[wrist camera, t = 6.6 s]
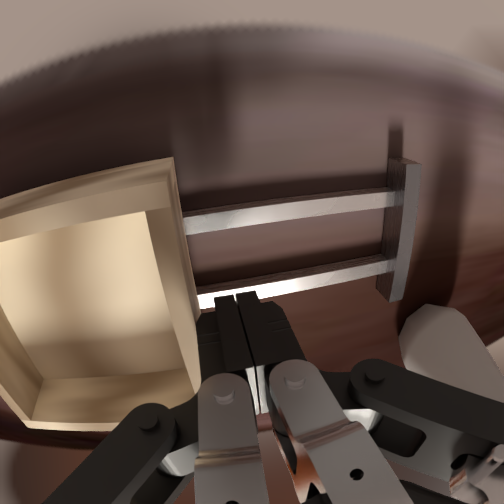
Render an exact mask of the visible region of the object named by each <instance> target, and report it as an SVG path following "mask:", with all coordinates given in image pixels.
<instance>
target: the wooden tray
mask: <svg viewBox="0 0 504 504" xmlns="http://www.w3.org/2000/svg"><path fill="white" fill-rule="evenodd" d="M200 314H201V311H200V306H199V302H198V297H197V292H196V287H195V282H194V277H193V272H192V267H191V262H190V256H189V251H188V245H187V240H186V234H185V229H184V223H183V217H182V211H181V205H180V199H179V192H178V186H177V179H176V173H175V166H174V159H173V157H169V158H163V159H157V160H152V161H146V162H141V163H136V164H131V165H126V166H121V167H116V168H112V169H107V170H103V171H98V172H94V173H90V174H86V175H81V176H77V177H73V178H70V179H66V180H62V181H58V182H54V183H51V184H47V185H44V186H40V187H37V188H33V189H30V190H27V191H23V192H20V193H17V194H14V195H11V196H8V197H5V198H2V199H0V395H1V397H2V398H3V399H4V400H5V401H6V403H7V404H8V405H9V406H10V408H11V409H12V410H13V411H14V412H15V413H16V415H17V416H18V417H19V418H20V419H21V420H22V421H23V422H24V424H25V425H26V426H27V427H28V428H37V429H50V430H71V431H112V430H113V429H114V428H115V427H116V426H117V425H118V424H119V423H120V422H121V421H122V420H123V419H124V418H125V417H126V416H127V415H128V414H129V412H130V411H132V410H133V409H134V408H135V407H137V406H139V405H142V404H145V403H159V404H162V405H164V406H166V407H168V408H169V409H171V408H173V407H175V406H178V405H180V404H183V403H185V402H187V401H188V400H190V399H191V398H192V397H193V396H194V395H195V394H196V393H197V392H198V390H199V388H200V385H201V374H200V364H199V355H198V344H197V334H196V322H197V320H198V318H199V316H200Z"/></svg>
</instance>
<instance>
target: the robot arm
mask: <svg viewBox="0 0 504 504" xmlns="http://www.w3.org/2000/svg"><path fill="white" fill-rule="evenodd" d="M213 299H214V305H215V310H216V311H214V312H208V313H202V314H200V316H199V318H198V320H197V322H196V334H197V344H198V355H199V364H200V374H201V385H200V388H199V390H198V392H197V393H196V394H195V395H194V396H193V397H192V398H191V399H190V400H188V401H187V402H185V403H183V404H180V405H178V406H175V407H173V408H171V409H169V408H168V407H166V406H164V405H162V404H159V403H145V404H142V405H139V406H137V407H135V408H134V409H133V410H132V411H130V412H129V414H128V415H127V416H126V417H125V418H124V419H123V420H122V421H121V422H120V423H119V424H118V425H117V426H116V427H115V428H114V429H113V430H112V432H111V433H110V434H109V435H108V436H107V437H106V438H105V439H104V440H103V441H102V442H101V443H100V444H99V445H98V446H97V447H96V448H95V449H94V450H93V451H92V453H91V454H90V455H89V456H88V457H87V458H86V459H85V460H84V461H83V462H82V463H81V464H80V465H79V466H78V467H77V468H76V469H75V470H74V471H73V472H72V473H71V475H69V476H68V477H67V478H66V480H64V482H63V483H62V484H61V485H60V486H59V487H58V488H57V489H56V490H55V491H54V492H53V493H52V494H51V495H50V496H49V497H48V498H47V499H46V500H45V501H44V502H43V503H42V504H173V503H174V502H175V500H176V499H177V498H178V496H179V495H180V494H181V492H182V491H183V490H184V489H185V487H186V486H187V485H188V483H189V482H190V481H191V479H192V478H193V477H194V480H195V503H196V504H269V499H268V493H267V488H266V482H265V476H264V471H263V465H262V460H261V454H260V449H259V443H258V437H257V434H258V427H257V420H256V415H257V414H259V406H260V410H261V413H266V412H269V414H270V417H271V421H272V428H273V433H274V436H275V438H276V441H277V443H278V446H279V448H280V450H281V453H282V455H283V457H284V460H285V462H286V465H287V467H288V469H289V472H290V474H291V476H292V479H293V482H294V486H295V490H296V494H297V496H298V499H299V501H300V504H504V403H503V402H499V401H496V400H493V399H490V398H487V397H484V396H481V395H478V394H475V393H472V392H469V391H466V390H463V389H460V388H457V387H454V386H451V385H449V384H446V383H443V382H440V381H437V380H434V379H432V378H429V377H426V376H423V375H421V374H418V373H415V372H413V371H410V370H407V369H405V368H402V367H399V366H397V365H394V364H391V363H389V362H386V361H383V360H380V359H366V360H363V361H361V362H359V363H357V364H356V365H355V366H354V367H353V369H352V370H351V372H325V371H321V370H319V369H317V368H316V367H315V366H314V365H313V364H311V363H309V362H308V361H307V360H306V358H305V356H304V354H303V352H302V349H301V347H300V345H299V343H298V341H297V339H296V337H295V335H294V332H293V330H292V329H291V326H290V324H289V322H288V320H287V317H286V315H285V313H284V311H283V309H282V308H281V307H280V306H278V305H277V304H276V303H274V302H273V301H270V302H265V303H260V300H259V298H258V295H257V292H256V290H252V291H246V292H240V293H235V297H234V294H229V295H223V296H217V297H213ZM235 300H236V301H235ZM258 403H259V406H258ZM385 458H386V459H388V460H390V461H393V462H396V463H398V464H400V465H403V466H405V467H408V468H410V469H413V470H416V471H419V472H421V473H424V474H427V475H430V476H432V477H435V478H438V479H441V480H444V481H447V482H449V486H450V495H451V496H452V497H453V498H451V497H448V496H445V495H442V494H440V493H437V492H434V491H432V490H429V489H427V488H424V487H422V486H419V485H417V484H414V483H412V482H408V481H404V480H399V479H398V478H397V477H396V475H395V473H394V472H393V470H392V469H391V467H390V466H389V464H388V463H387V461H386V459H385ZM454 498H457V499H459V500H461V501H459V500H456V499H454ZM462 501H463V502H462Z"/></svg>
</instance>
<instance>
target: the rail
mask: <svg viewBox="0 0 504 504" xmlns="http://www.w3.org/2000/svg"><path fill="white" fill-rule="evenodd" d="M420 178H421V164H420V163H417V162H414V161H411V160H408V159H406V158H388V176H387V187H383V188H371V189H360V190H349V191H339V192H330V193H320V194H311V195H302V196H294V197H286V198H277V199H270V200H262V201H254V202H247V203H240V204H233V205H226V206H219V207H212V208H205V209H199V210H193V211H186V212H182V217H183V223H184V229H185V234H186V235H190V234H196V233H202V232H209V231H215V230H222V229H228V228H235V227H241V226H248V225H255V224H262V223H269V222H276V221H283V220H290V219H297V218H304V217H312V216H319V215H327V214H334V213H342V212H350V211H358V210H366V209H374V208H383V207H385V219H384V230H383V239H382V248H381V254H378V255H373V256H368V257H362V258H357V259H352V260H347V261H342V262H336V263H331V264H325V265H320V266H315V267H309V268H304V269H298V270H293V271H287V272H281V273H276V274H270V275H264V276H258V277H253V278H247V279H241V280H235V281H229V282H223V283H217V284H211V285H204V286H198V287H196V292H197V297H198V302H199V306H200V309H201V308H207V307H213V306H215V305H214V299H213V297H217V296H223V295H229V294H234V297H235V293H240V292H246V291H252V290H256V292H257V295H258V298H259V299H260V298H265V297H270V296H276V295H281V294H286V293H292V292H297V291H302V290H307V289H312V288H317V287H322V286H327V285H331V284H336V283H341V282H346V281H350V280H355V279H359V278H364V277H368V276H373V275H377V274H378V278H377V285H376V289H377V290H378V291H379V292H380V293H381V294H382V295H383V297H384V298H385V299H386V300H387V301H388V302H389V303H390V302H393V301H397V300H400V299H402V298H403V294H404V289H405V284H406V279H407V274H408V269H409V263H410V258H411V252H412V246H413V239H414V232H415V225H416V217H417V209H418V200H419V190H420ZM235 301H236V300H235Z"/></svg>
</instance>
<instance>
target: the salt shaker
mask: <svg viewBox="0 0 504 504" xmlns="http://www.w3.org/2000/svg"><path fill="white" fill-rule="evenodd" d="M398 338H399V343H400V349H401V354H402V359H403V362H404V364H405V367H406V369H407V370H410V371H413V372H415V373H418V374H421V375H423V376H426V377H429V378H432V379H434V380H437V381H440V382H443V383H446V384H449V385H451V386H454V387H457V388H460V389H463V390H466V391H469V392H472V393H475V394H478V395H481V396H484V397H487V398H490V399H493V400H496V401H499V402H503V403H504V376H503V375H502V373H501V371H500V370H499V368H498V366H497V365H496V363H495V361H494V360H493V358H492V356H491V355H490V353H489V352H488V350H487V349H486V347H485V345H484V344H483V342H482V341H481V339H480V338H479V336H478V335H477V333H476V332H475V330H474V329H473V327H472V326H471V324H470V323H469V322H468V320H467V319H466V317H465V316H464V315H462V314H461V313H460V312H458V311H457V310H455V309H454V308H448V307H442V306H437V305H431V304H425V305H423V306H422V307H421V308H419V309H418V310H417V311H416V312H414V313H413V314H412V315H410V316H409V317H408V318H407V319H406V321H405V324H404V326H403V328H402V330H401V333H400V335H399V337H398Z"/></svg>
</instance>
